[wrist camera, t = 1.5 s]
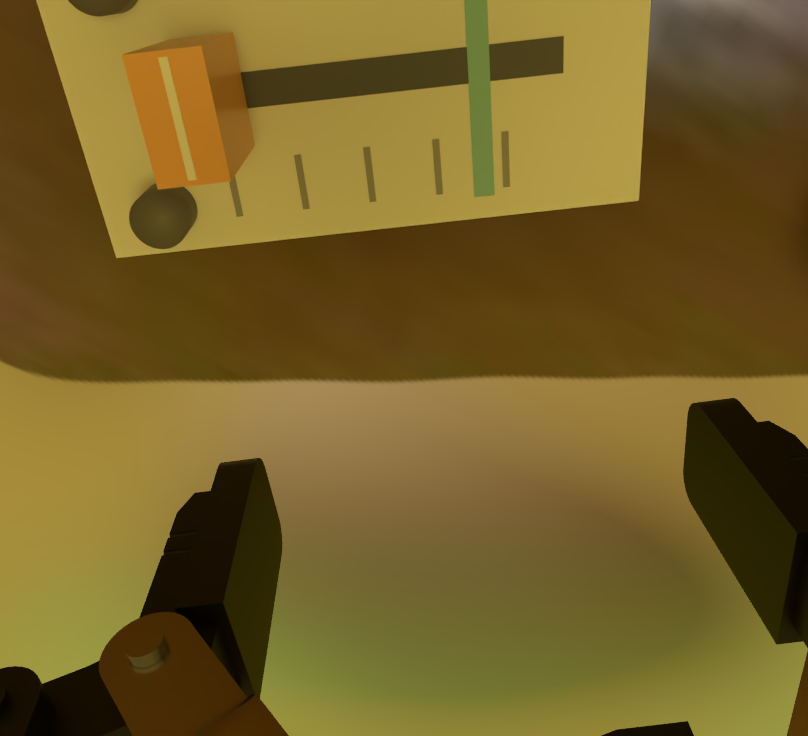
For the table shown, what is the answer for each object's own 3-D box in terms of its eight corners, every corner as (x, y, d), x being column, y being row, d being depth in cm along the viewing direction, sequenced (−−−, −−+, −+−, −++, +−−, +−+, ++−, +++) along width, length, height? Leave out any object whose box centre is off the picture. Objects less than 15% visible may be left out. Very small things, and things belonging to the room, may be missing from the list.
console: (35, -70, 28) (-12, -77, 25) (641, -140, 28) (680, -157, 24) (129, 243, 35) (102, 274, 31) (625, 189, 34) (653, 213, 31)
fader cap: (167, 39, 28) (120, 54, 23) (232, 32, 28) (201, 45, 23) (194, 152, 30) (157, 190, 25) (254, 145, 30) (230, 181, 25)
